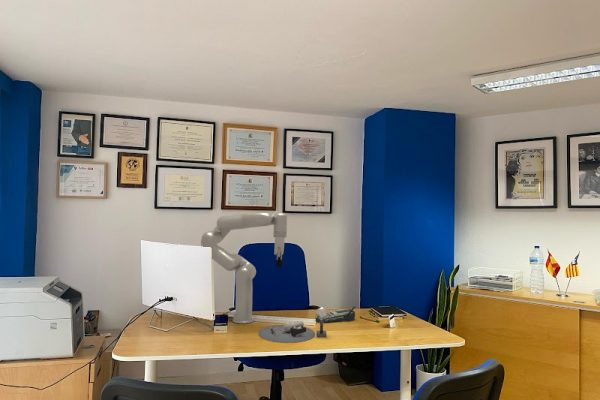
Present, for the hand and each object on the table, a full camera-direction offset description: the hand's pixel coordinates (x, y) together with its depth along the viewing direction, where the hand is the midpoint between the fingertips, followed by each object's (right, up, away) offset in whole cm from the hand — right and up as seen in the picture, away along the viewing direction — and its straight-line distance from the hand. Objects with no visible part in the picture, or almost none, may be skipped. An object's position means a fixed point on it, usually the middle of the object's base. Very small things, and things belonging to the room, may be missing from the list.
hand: (279, 266), depth 232 cm
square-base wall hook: (+23, -32, -23) cm, 46 cm away
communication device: (+32, -34, +8) cm, 47 cm away
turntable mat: (+5, -32, -20) cm, 38 cm away
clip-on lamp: (+6, -32, -21) cm, 39 cm away
